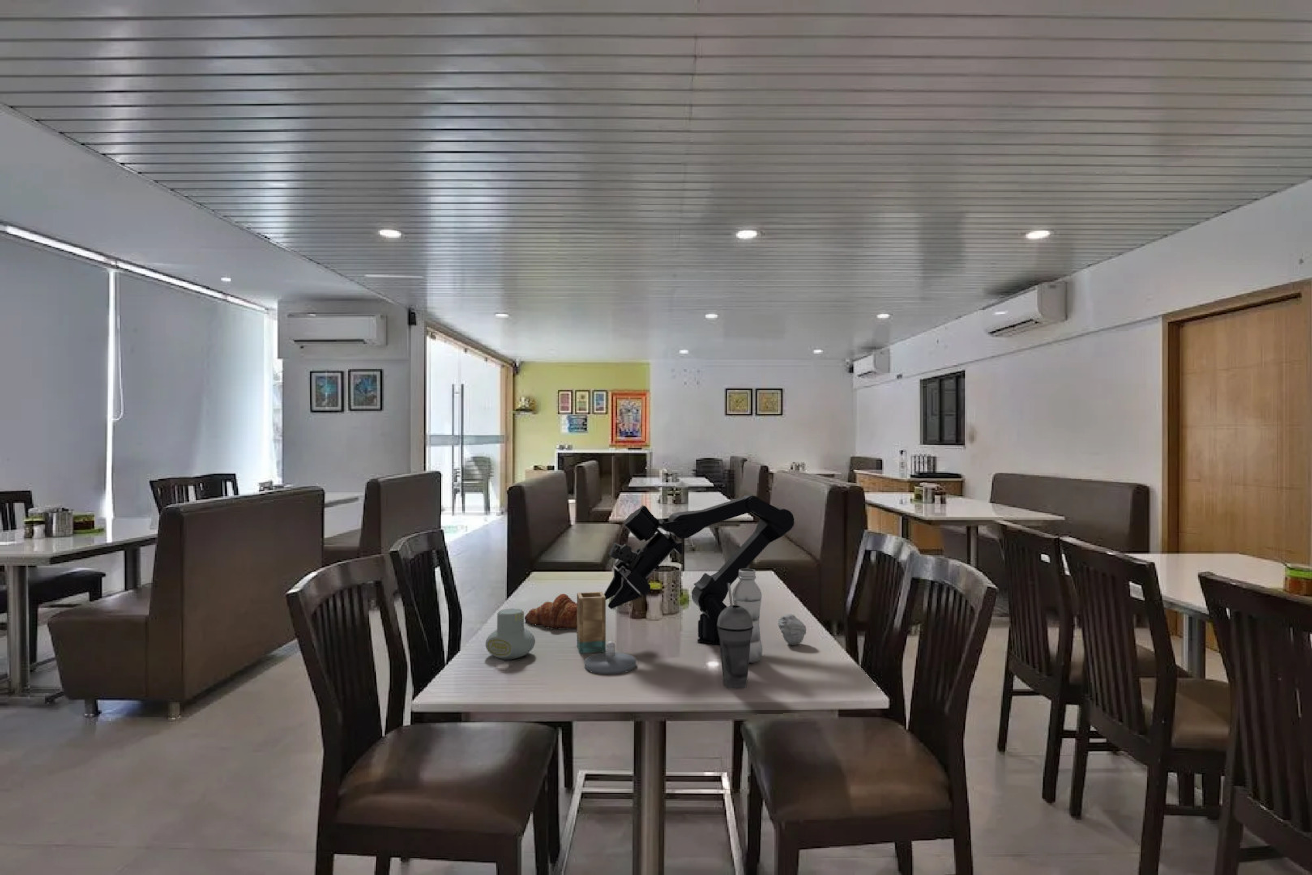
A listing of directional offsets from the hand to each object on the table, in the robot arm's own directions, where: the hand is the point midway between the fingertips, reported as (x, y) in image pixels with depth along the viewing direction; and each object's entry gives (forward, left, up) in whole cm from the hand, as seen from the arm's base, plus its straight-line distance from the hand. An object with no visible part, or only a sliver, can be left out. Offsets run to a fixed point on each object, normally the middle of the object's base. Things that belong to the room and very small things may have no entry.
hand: (606, 602), depth 157 cm
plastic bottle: (-33, -4, -11) cm, 35 cm away
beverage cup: (-35, +11, -11) cm, 38 cm away
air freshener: (+17, +14, -11) cm, 25 cm away
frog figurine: (-39, -21, -11) cm, 46 cm away
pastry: (+21, -14, -11) cm, 27 cm away
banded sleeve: (+3, +2, -10) cm, 11 cm away
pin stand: (-7, +11, -10) cm, 17 cm away
